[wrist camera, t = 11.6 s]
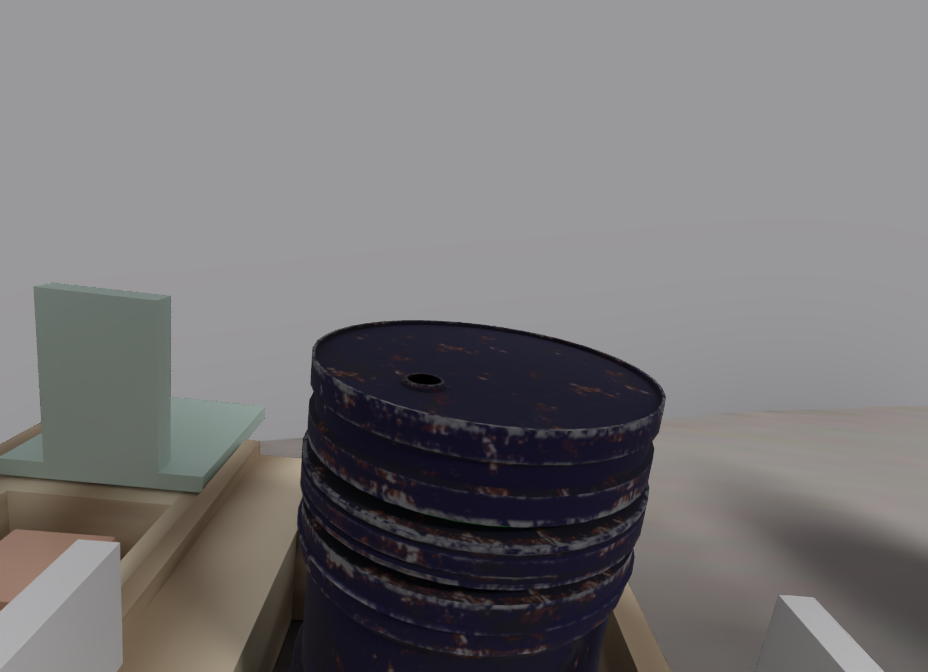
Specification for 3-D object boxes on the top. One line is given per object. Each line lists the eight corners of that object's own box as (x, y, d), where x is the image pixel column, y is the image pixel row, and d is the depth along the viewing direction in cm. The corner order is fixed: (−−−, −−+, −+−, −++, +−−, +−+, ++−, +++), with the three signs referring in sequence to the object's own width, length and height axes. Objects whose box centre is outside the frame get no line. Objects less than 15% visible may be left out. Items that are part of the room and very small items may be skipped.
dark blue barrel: (414, 622, 26) (452, 310, 22) (617, 758, 20) (707, 375, 17) (213, 792, 17) (225, 341, 14) (463, 1092, 12) (578, 486, 9)
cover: (264, 418, 34) (270, 278, 32) (202, 492, 25) (205, 306, 23) (115, 403, 33) (111, 259, 31) (-2, 474, 25) (-17, 281, 23)
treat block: (118, 617, 24) (115, 536, 23) (55, 698, 20) (49, 604, 19) (21, 611, 23) (15, 528, 23) (-62, 691, 20) (-73, 596, 19)
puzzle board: (567, 556, 32) (583, 472, 31) (900, 1508, 9) (1022, 1318, 7) (33, 509, 30) (27, 418, 29) (-1389, 1566, 7) (-1736, 1323, 6)
